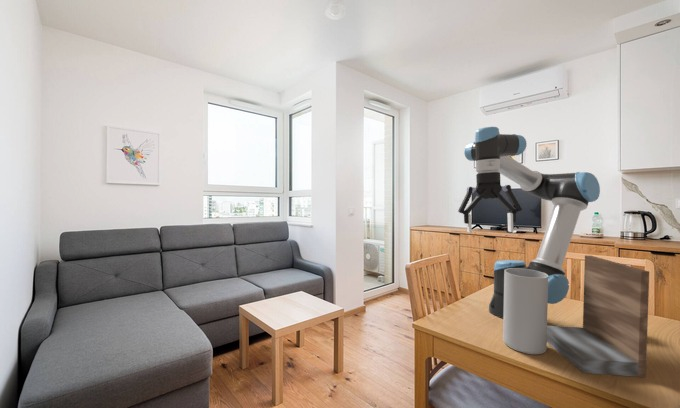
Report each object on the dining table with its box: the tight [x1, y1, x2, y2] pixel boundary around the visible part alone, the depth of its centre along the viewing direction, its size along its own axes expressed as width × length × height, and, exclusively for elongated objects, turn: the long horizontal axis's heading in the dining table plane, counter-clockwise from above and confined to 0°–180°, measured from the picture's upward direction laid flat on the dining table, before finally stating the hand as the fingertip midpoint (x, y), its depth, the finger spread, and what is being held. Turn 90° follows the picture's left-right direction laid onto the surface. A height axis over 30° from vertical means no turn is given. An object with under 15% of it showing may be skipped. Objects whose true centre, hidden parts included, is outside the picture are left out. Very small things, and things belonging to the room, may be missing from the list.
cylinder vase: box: [502, 268, 549, 355], centre depth 98 cm, size 12×12×25 cm
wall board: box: [547, 254, 650, 378], centre depth 93 cm, size 16×22×30 cm
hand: (489, 232), depth 102 cm, fingers open, 13 cm apart
